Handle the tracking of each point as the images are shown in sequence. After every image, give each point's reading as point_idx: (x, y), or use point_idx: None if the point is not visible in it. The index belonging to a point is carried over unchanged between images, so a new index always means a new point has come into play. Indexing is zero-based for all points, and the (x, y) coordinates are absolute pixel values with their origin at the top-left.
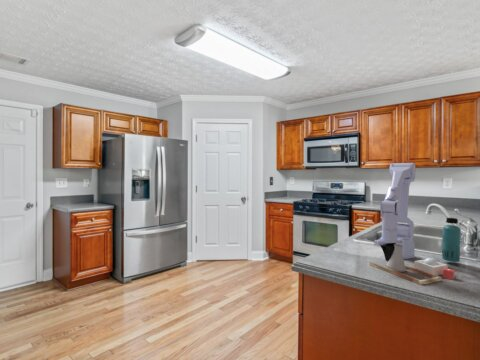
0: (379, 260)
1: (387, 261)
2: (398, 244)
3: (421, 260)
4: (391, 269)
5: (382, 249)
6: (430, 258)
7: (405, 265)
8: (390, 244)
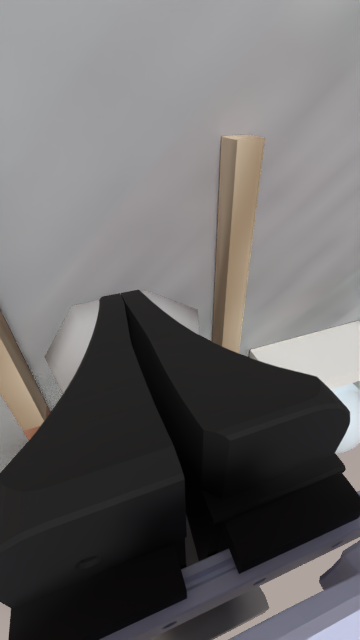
0: (202, 7)
1: (227, 151)
2: (250, 616)
3: (340, 382)
4: (36, 414)
5: (61, 404)
6: (344, 449)
7: (232, 340)
8: (219, 543)
